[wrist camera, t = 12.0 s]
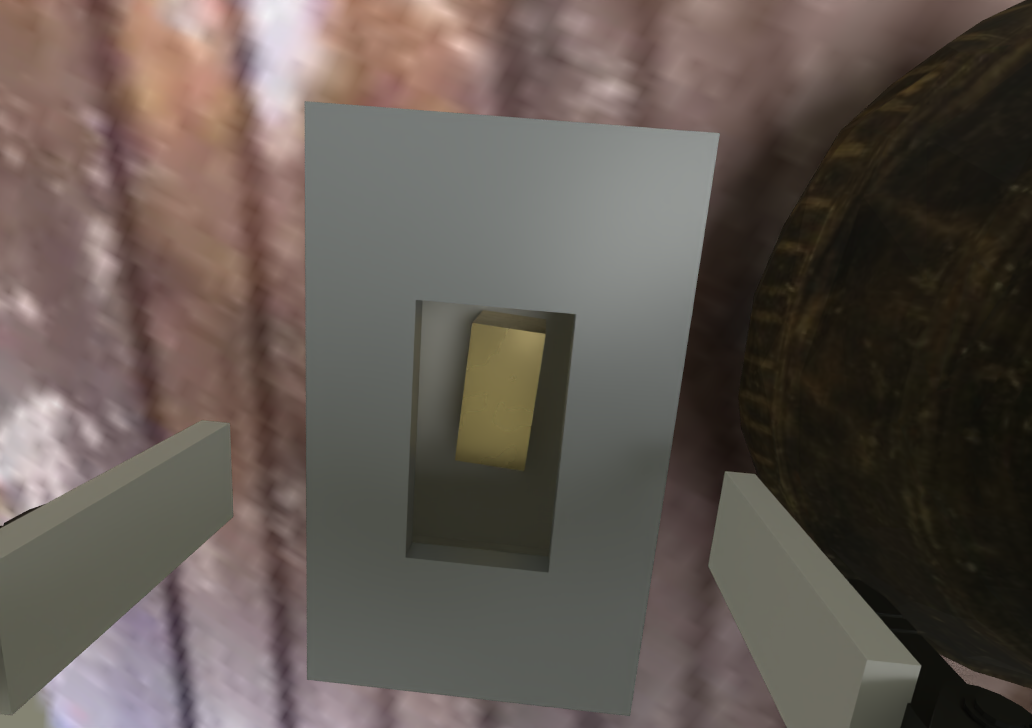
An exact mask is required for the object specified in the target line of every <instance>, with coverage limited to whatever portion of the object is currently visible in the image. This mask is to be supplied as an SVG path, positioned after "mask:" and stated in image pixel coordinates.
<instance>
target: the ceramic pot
mask: <svg viewBox="0 0 1032 728" xmlns="http://www.w3.org/2000/svg"><path fill="white" fill-rule="evenodd" d="M738 400H739V411H740V421H741V429H742V432H743V435H744V437H745V440H746V443H747V446H748V449H749V452H750V455H751V457H752V460H753V463H754V466H755V469H756V472H757V475H758V477H759V479H760V481H761V482H762V483H763V484H764V485H765V486H766V487H767V489H768V490H769V491H770V492H771V493H772V494H773V496H774V497H775V498H776V499H777V500H778V501H779V502H780V504H781V505H782V506H783V507H784V508H785V509H786V510H787V512H788V513H789V514H790V515H791V516H792V517H793V519H794V520H795V521H796V522H797V523H798V524H799V525H800V527H801V528H802V529H803V530H804V531H805V532H806V534H807V535H808V536H809V537H810V538H811V539H812V540H813V542H814V543H815V544H816V545H817V546H818V547H819V549H820V550H821V551H822V552H823V553H824V554H825V555H826V557H827V558H828V559H829V560H830V561H831V562H832V563H833V565H834V566H835V567H836V568H837V569H838V570H839V572H840V573H841V574H842V575H843V576H844V577H845V578H849V579H859V580H861V581H863V582H864V583H866V584H867V585H869V586H870V587H872V588H873V589H875V590H876V591H878V592H879V593H881V594H882V595H884V596H885V597H886V598H887V599H888V600H889V601H890V602H891V603H892V604H893V605H894V606H895V608H896V609H897V610H898V611H899V612H900V613H901V614H902V615H903V619H907V620H908V621H909V623H910V624H911V625H912V626H913V627H914V628H915V629H916V630H917V634H918V635H922V636H923V638H924V639H925V640H926V641H927V642H928V643H929V644H930V645H931V646H932V647H933V648H934V649H935V650H936V651H937V653H938V654H940V655H942V656H944V657H946V658H948V659H950V660H953V661H955V662H957V663H959V664H961V665H963V666H965V667H967V668H969V669H971V670H973V671H976V672H979V673H982V674H985V675H989V676H992V677H995V678H998V679H1002V680H1005V681H1008V682H1011V683H1015V684H1018V685H1021V686H1024V687H1028V688H1031V689H1032V0H1025V1H1023V2H1021V3H1019V4H1017V5H1015V6H1013V7H1010V8H1008V9H1006V10H1004V11H1002V12H1000V13H998V14H996V15H994V16H991V17H989V18H987V19H985V20H983V21H981V22H980V23H978V24H977V25H975V26H974V27H972V28H971V29H969V30H968V31H966V32H965V33H963V34H962V35H960V36H959V37H958V38H956V39H955V40H953V41H952V42H950V43H949V44H947V45H946V46H944V47H943V48H942V49H940V50H939V51H938V52H936V53H935V54H933V55H932V56H931V57H929V58H928V59H926V60H925V61H924V62H922V63H921V64H920V65H918V66H917V67H915V68H914V69H913V70H911V71H910V72H909V73H907V74H906V75H904V76H903V77H902V78H900V79H899V80H897V81H896V82H895V83H893V84H892V85H891V86H890V87H889V88H888V89H886V90H885V91H884V92H883V93H882V94H881V95H880V96H879V97H878V98H876V99H875V100H874V101H873V102H872V103H871V104H870V105H869V106H868V107H867V108H865V109H864V110H863V111H862V112H861V113H860V114H859V115H858V116H857V117H856V118H854V119H853V120H852V121H851V122H850V123H849V124H848V125H847V126H846V127H844V128H843V129H842V130H841V131H840V133H839V134H838V136H837V138H836V139H835V141H834V143H833V144H832V146H831V148H830V149H829V151H828V153H827V154H826V156H825V158H824V159H823V161H822V163H821V164H820V166H819V168H818V169H817V171H816V173H815V175H814V176H813V178H812V180H811V181H810V183H809V185H808V186H807V188H806V190H805V191H804V193H803V195H802V196H801V198H800V200H799V201H798V203H797V205H796V206H795V208H794V210H793V211H792V213H791V215H790V216H789V218H788V220H787V222H786V223H785V225H784V227H783V229H782V231H781V233H780V236H779V238H778V240H777V243H776V245H775V248H774V250H773V252H772V255H771V257H770V259H769V262H768V264H767V266H766V269H765V271H764V274H763V276H762V278H761V281H760V283H759V285H758V288H757V290H756V293H755V295H754V300H753V306H752V312H751V318H750V324H749V330H748V336H747V342H746V348H745V354H744V361H743V368H742V375H741V381H740V388H739V395H738Z"/></svg>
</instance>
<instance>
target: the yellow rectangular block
mask: <svg viewBox="0 0 1032 728" xmlns="http://www.w3.org/2000/svg"><path fill="white" fill-rule="evenodd" d="M545 336H546V319H540V318H534V317H527V316H520V315H514V314H507V313H500V312H494V311H487V310H483V311H482V312H481V313H480V314H479V315H478V317H477V318H476V319H475V320H474V321H473V322H472V328H471V336H470V344H469V352H468V360H467V368H466V376H465V384H464V392H463V400H462V408H461V415H460V423H459V431H458V439H457V447H456V455H455V460H456V461H463V462H469V463H475V464H482V465H488V466H495V467H501V468H507V469H514V470H520V471H524V469H525V463H526V457H527V450H528V444H529V438H530V431H531V425H532V419H533V412H534V406H535V400H536V393H537V387H538V381H539V374H540V368H541V362H542V355H543V349H544V343H545Z"/></svg>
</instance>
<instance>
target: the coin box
mask: <svg viewBox="0 0 1032 728" xmlns="http://www.w3.org/2000/svg"><path fill="white" fill-rule="evenodd" d="M719 135H720V133H710V132H697V131H684V130H671V129H658V128H645V127H632V126H619V125H606V124H593V123H580V122H567V121H554V120H541V119H528V118H515V117H502V116H489V115H475V114H462V113H449V112H436V111H423V110H410V109H397V108H384V107H371V106H358V105H345V104H332V103H319V102H306V101H305V290H306V534H307V680H315V681H324V682H333V683H342V684H351V685H359V686H368V687H377V688H386V689H395V690H404V691H413V692H421V693H430V694H439V695H448V696H457V697H466V698H475V699H483V700H492V701H501V702H510V703H519V704H528V705H537V706H545V707H554V708H563V709H572V710H581V711H590V712H599V713H607V714H616V715H625V716H630V713H631V706H632V700H633V693H634V687H635V680H636V674H637V667H638V661H639V654H640V648H641V641H642V635H643V628H644V622H645V615H646V609H647V602H648V596H649V589H650V583H651V576H652V570H653V563H654V557H655V550H656V544H657V537H658V531H659V524H660V518H661V511H662V505H663V498H664V492H665V485H666V479H667V472H668V466H669V460H670V453H671V447H672V440H673V434H674V427H675V421H676V414H677V408H678V401H679V395H680V388H681V382H682V375H683V369H684V362H685V356H686V349H687V343H688V336H689V330H690V323H691V317H692V310H693V304H694V297H695V291H696V284H697V278H698V271H699V265H700V258H701V252H702V245H703V239H704V232H705V226H706V219H707V213H708V206H709V200H710V194H711V187H712V181H713V174H714V168H715V161H716V155H717V148H718V142H719ZM483 310H487V311H494V312H500V313H507V314H514V315H520V316H527V317H534V318H540V319H546V336H545V343H544V349H543V355H542V362H541V368H540V374H539V381H538V387H537V393H536V400H535V406H534V412H533V419H532V425H531V431H530V438H529V444H528V450H527V457H526V463H525V469H524V471H520V470H514V469H507V468H501V467H495V466H488V465H482V464H475V463H469V462H463V461H456V460H455V455H456V447H457V439H458V431H459V423H460V415H461V408H462V400H463V392H464V384H465V376H466V368H467V360H468V352H469V344H470V336H471V328H472V322H473V321H474V320H475V319H476V318H477V317H478V315H479V314H480V313H481V312H482V311H483Z"/></svg>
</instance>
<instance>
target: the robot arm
mask: <svg viewBox="0 0 1032 728" xmlns="http://www.w3.org/2000/svg"><path fill="white" fill-rule="evenodd" d="M232 517H233V496H232V469H231V442H230V423H225V422H214V421H204V420H201V421H200V422H198V423H196V424H194V425H192V426H190V427H188V428H187V429H185V430H183V431H181V432H179V433H177V434H175V435H173V436H172V437H170V438H168V439H166V440H164V441H162V442H160V443H159V444H157V445H155V446H153V447H151V448H149V449H147V450H146V451H144V452H142V453H140V454H138V455H136V456H134V457H132V458H131V459H129V460H127V461H125V462H123V463H121V464H119V465H118V466H116V467H114V468H112V469H110V470H108V471H106V472H105V473H103V474H101V475H99V476H97V477H95V478H93V479H91V480H90V481H88V482H86V483H84V484H82V485H80V486H78V487H77V488H75V489H73V490H71V491H69V492H67V493H65V494H64V495H62V496H60V497H58V498H56V499H54V500H52V501H50V502H49V503H47V504H44V505H41V506H38V507H35V508H32V509H30V510H28V511H26V512H24V513H22V514H20V515H18V516H16V517H14V518H13V519H11V520H9V521H7V522H5V523H4V525H3V526H0V714H4V715H13V714H14V713H15V712H16V711H17V710H18V709H19V708H20V707H22V706H23V705H24V704H25V703H26V702H27V701H28V700H29V699H31V698H32V697H33V696H34V695H35V694H36V693H37V692H39V691H40V690H41V689H42V688H43V687H44V686H45V685H46V684H47V683H49V682H50V681H51V680H52V679H53V678H54V677H55V676H56V675H57V674H59V673H60V672H61V671H62V670H63V669H64V668H65V667H66V666H68V665H69V664H70V663H71V662H72V661H73V660H74V659H75V658H76V657H78V656H79V655H80V654H81V653H82V652H83V651H84V650H85V649H86V648H88V647H89V646H90V645H91V644H92V643H93V642H94V641H95V640H96V639H98V638H99V637H100V636H101V635H102V634H103V633H104V632H105V631H107V630H108V629H109V628H110V627H111V626H112V625H113V624H114V623H115V622H117V621H118V620H119V619H120V618H121V617H122V616H123V615H124V614H125V613H127V612H128V611H129V610H130V609H131V608H132V607H133V606H134V605H135V604H137V603H138V602H139V601H140V600H141V599H142V598H143V597H144V596H146V595H147V594H148V593H149V592H150V591H151V590H152V589H153V588H154V587H156V586H157V585H158V584H159V583H160V582H161V581H162V580H163V579H164V578H166V577H167V576H168V575H169V574H170V573H171V572H172V571H173V570H174V569H176V568H177V567H178V566H179V565H180V564H181V563H182V562H183V561H185V560H186V559H187V558H188V557H189V556H190V555H191V554H192V553H193V552H195V551H196V550H197V549H198V548H199V547H200V546H201V545H202V544H203V543H205V542H206V541H207V540H208V539H209V538H210V537H211V536H212V535H213V534H215V533H216V532H217V531H218V530H219V529H220V528H221V527H222V526H224V525H225V524H226V523H227V522H228V521H229V520H230V519H231V518H232ZM708 567H709V569H710V571H711V573H712V575H713V577H714V579H715V581H716V583H717V585H718V587H719V589H720V591H721V593H722V595H723V597H724V599H725V602H726V604H727V606H728V608H729V610H730V612H731V614H732V616H733V618H734V620H735V622H736V624H737V626H738V628H739V630H740V632H741V634H742V636H743V639H744V641H745V643H746V645H747V647H748V649H749V651H750V653H751V655H752V657H753V659H754V661H755V663H756V665H757V667H758V669H759V671H760V674H761V676H762V678H763V680H764V682H765V684H766V686H767V688H768V690H769V692H770V694H771V696H772V698H773V700H774V702H775V704H776V706H777V708H778V711H779V713H780V715H781V717H782V719H783V721H784V723H785V725H786V727H787V728H1032V714H1031V713H1029V712H1028V711H1027V710H1025V709H1024V708H1023V707H1022V706H1020V705H1018V704H1016V703H1014V702H1013V701H1011V700H1009V699H1007V698H1005V697H1004V696H1002V695H1000V694H997V693H995V692H992V691H990V690H987V689H984V688H982V687H979V686H975V685H969V684H966V682H965V681H964V680H963V679H962V678H961V677H960V676H959V675H958V674H957V673H956V672H955V671H954V670H953V669H952V668H951V666H950V665H949V664H948V663H947V662H946V661H945V660H944V659H943V658H942V657H941V656H940V655H939V654H938V653H937V651H936V650H935V649H934V648H933V647H932V646H931V645H930V644H929V643H928V642H927V641H926V640H925V639H924V638H923V636H922V635H918V634H917V630H916V629H915V628H914V627H913V626H912V625H911V624H910V623H909V621H908V620H907V619H903V615H902V614H901V613H900V612H899V611H898V610H897V609H896V608H895V606H894V605H893V604H892V603H891V602H890V601H889V600H888V599H887V598H886V597H885V596H884V595H882V594H881V593H879V592H878V591H876V590H875V589H873V588H872V587H870V586H869V585H867V584H866V583H864V582H863V581H861V580H859V579H849V578H845V577H844V576H843V575H842V574H841V573H840V572H839V570H838V569H837V568H836V567H835V566H834V565H833V563H832V562H831V561H830V560H829V559H828V558H827V557H826V555H825V554H824V553H823V552H822V551H821V550H820V549H819V547H818V546H817V545H816V544H815V543H814V542H813V540H812V539H811V538H810V537H809V536H808V535H807V534H806V532H805V531H804V530H803V529H802V528H801V527H800V525H799V524H798V523H797V522H796V521H795V520H794V519H793V517H792V516H791V515H790V514H789V513H788V512H787V510H786V509H785V508H784V507H783V506H782V505H781V504H780V502H779V501H778V500H777V499H776V498H775V497H774V496H773V494H772V493H771V492H770V491H769V490H768V489H767V487H766V486H765V485H764V484H763V483H762V482H761V481H760V479H759V478H758V477H757V476H756V475H755V474H749V473H739V472H728V471H725V474H724V480H723V485H722V491H721V497H720V502H719V508H718V513H717V519H716V524H715V530H714V536H713V541H712V547H711V552H710V558H709V564H708Z"/></svg>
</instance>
